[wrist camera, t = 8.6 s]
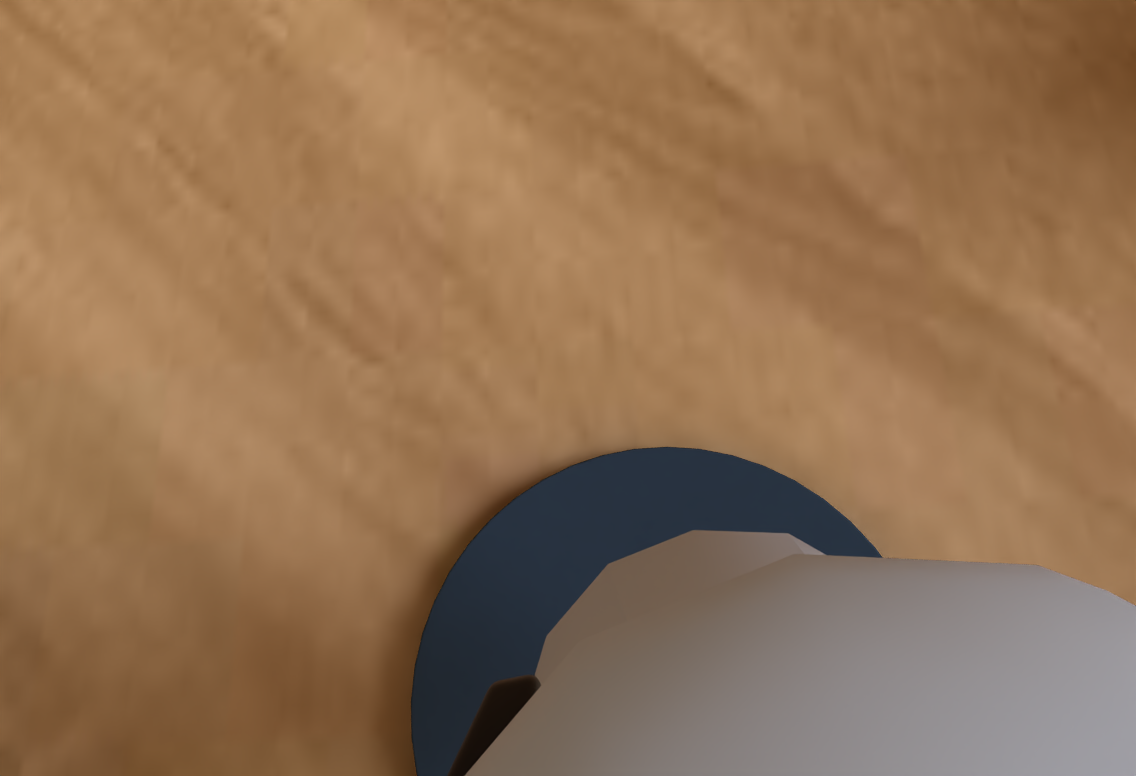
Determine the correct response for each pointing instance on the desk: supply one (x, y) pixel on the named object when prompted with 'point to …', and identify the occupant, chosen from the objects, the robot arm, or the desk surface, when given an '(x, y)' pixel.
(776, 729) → the salt shaker
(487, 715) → the robot arm
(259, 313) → the desk surface
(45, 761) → the desk surface
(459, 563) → the coaster
